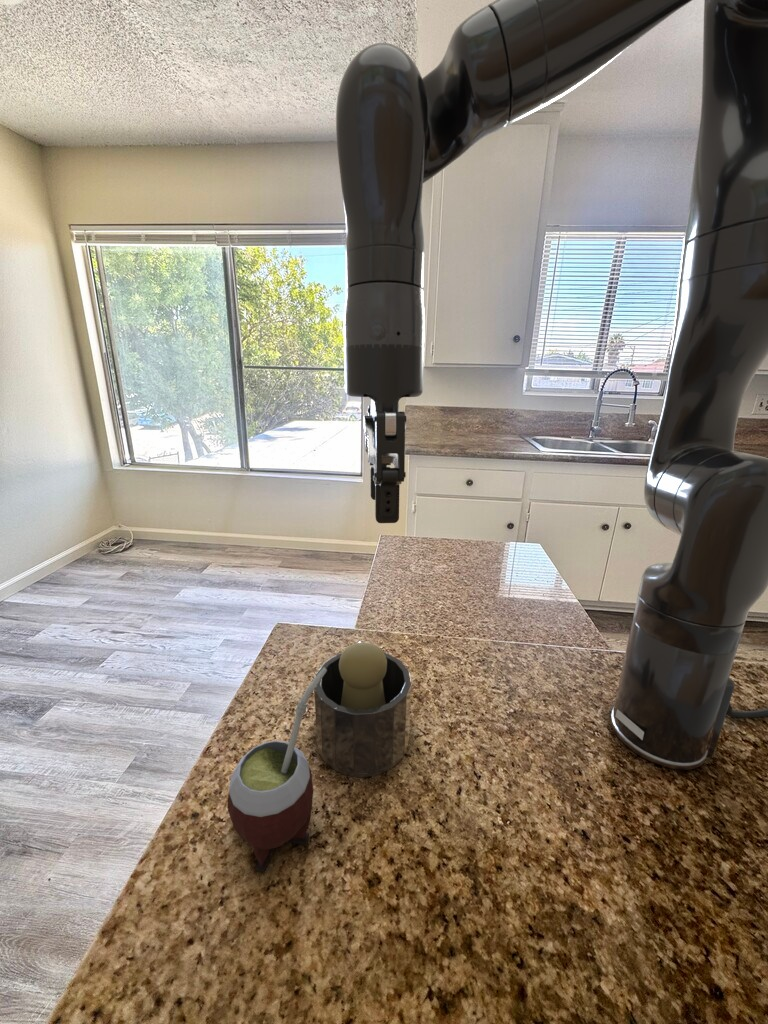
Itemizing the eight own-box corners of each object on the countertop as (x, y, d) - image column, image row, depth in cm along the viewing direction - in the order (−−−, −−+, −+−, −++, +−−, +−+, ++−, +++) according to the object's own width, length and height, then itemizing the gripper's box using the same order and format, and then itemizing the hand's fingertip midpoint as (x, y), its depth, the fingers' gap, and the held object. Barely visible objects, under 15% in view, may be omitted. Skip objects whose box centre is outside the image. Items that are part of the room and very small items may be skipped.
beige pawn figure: (383, 760, 44) (385, 672, 41) (329, 750, 46) (326, 664, 42) (393, 717, 50) (395, 638, 47) (345, 709, 51) (343, 631, 48)
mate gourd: (217, 869, 35) (196, 723, 30) (260, 784, 42) (248, 656, 38) (303, 887, 34) (294, 738, 29) (331, 796, 41) (328, 666, 37)
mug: (414, 774, 43) (417, 711, 41) (313, 780, 43) (310, 716, 40) (399, 682, 57) (401, 631, 54) (322, 685, 56) (320, 633, 54)
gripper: (439, 336, 33) (431, 531, 38) (412, 350, 46) (409, 492, 51) (343, 335, 32) (347, 533, 37) (344, 349, 46) (347, 493, 50)
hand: (383, 509), depth 44 cm, fingers open, 8 cm apart
